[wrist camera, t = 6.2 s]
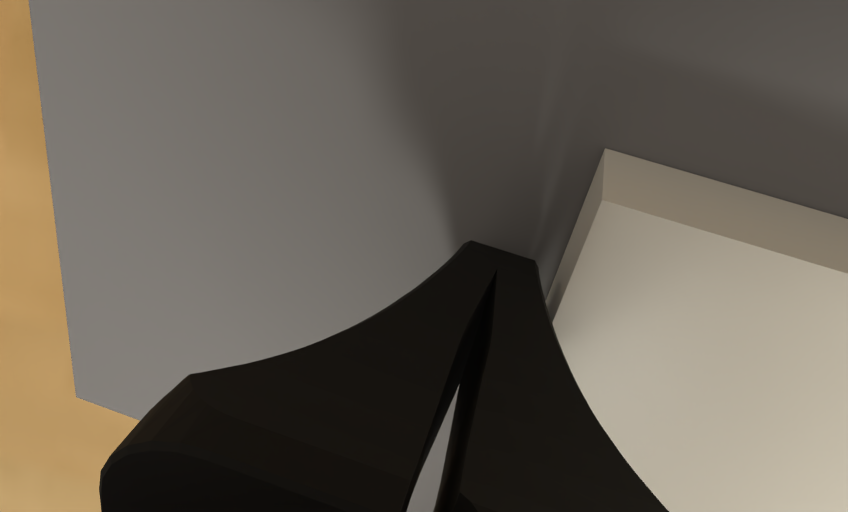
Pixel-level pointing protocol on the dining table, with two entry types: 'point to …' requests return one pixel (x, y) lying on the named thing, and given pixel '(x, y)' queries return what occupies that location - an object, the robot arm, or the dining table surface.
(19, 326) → the dining table surface
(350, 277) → the grey flat slab
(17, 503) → the dining table surface
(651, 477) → the tile
